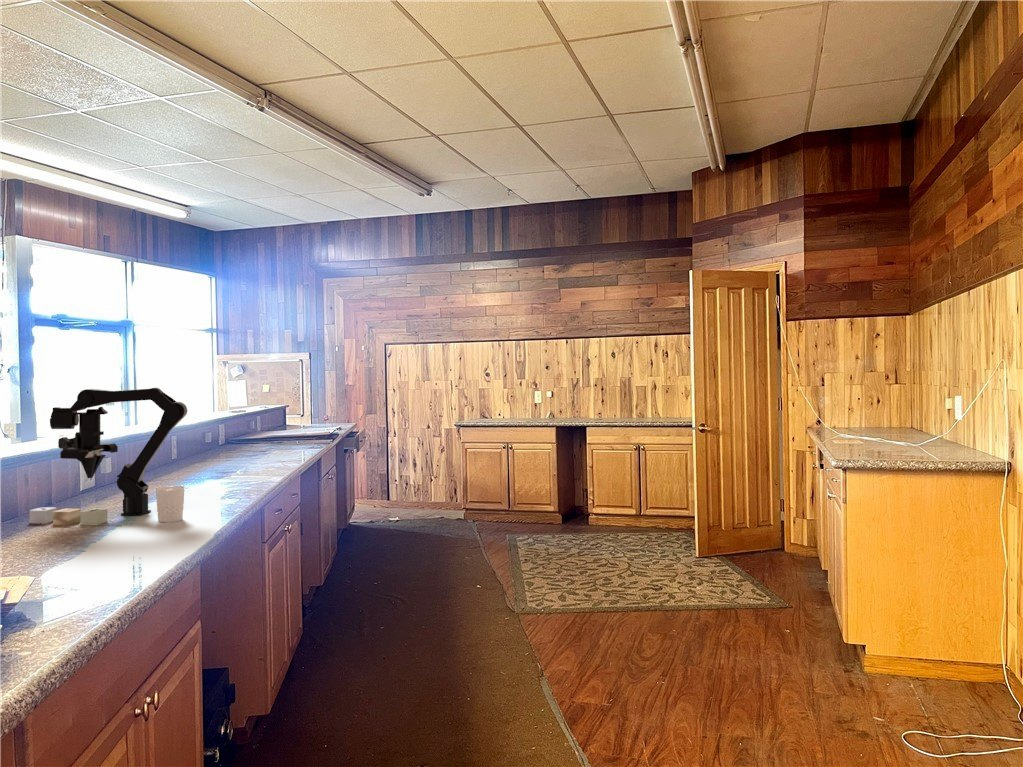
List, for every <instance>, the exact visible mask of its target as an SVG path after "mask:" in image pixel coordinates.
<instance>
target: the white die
mask: <svg viewBox="0 0 1023 767" xmlns="http://www.w3.org/2000/svg"><path fill="white" fill-rule="evenodd" d="M57 510H58V507H56V506H55V507H54V506H53V507H52V506H51V507H49V506H47V507H46V506H42V507H41V506H40V507H37V508H33V509H29V524H40V523H41V524H42V525H43V524H44V525H45V524H49V523H51V522H52V521H53V512H54V511H57ZM52 523H53V522H52Z"/></svg>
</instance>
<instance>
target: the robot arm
mask: <svg viewBox="0 0 1023 767" xmlns="http://www.w3.org/2000/svg"><path fill="white" fill-rule="evenodd" d="M136 401H137V402H138V401H139V402H140V401H152V402H153V403H154V404H155V405H156V406H158V408H159V409H160V410H162V411H163V414H162V416H161V419H160V420H159V421H160V422H159V424H158V427H156V429H155V431H154V432H153V434H152V435H151V436H150V438H149V440H148V441H147V442H146V444H145V446H144V447H143V448H142V450H141V452H140V453H139V454H138V456H137V457H136V459H135V460H134V462H133V463H131V464H130V463H129V462H128V463H127V464H125V465H124V466H123V467H122V470H121V472H120V473H119V474H118V475H116V477H117V480H116V485H117V488H118V489H119V490H120V491H122V493H123V499H122V512H121V513H120V516H142V515H145V514H148V513H151V512H152V510H151V509H149V493H147V491H148V489H149V485H148V484H147V483H146V482H145V481H143V478H144V476H145V473H146V470H147V467H148V465H149V463H151V461H152V459H153V458H154V456H155V455H156V453H157V452H158V450H159V449H160V448H161V446H162V444H163V443H164V442H165V440H166V438H167V437H168V435H170V433H171V431H172V430H173V429H174V428H175V427H176V426H177V425H178V424H179V423H180V422H181V421H182V420H183V419H184V418H185V417H186V415H187V414H188V407H187V405H186V404H185V403H183V402H181V401H177V400H175V399H174V398H172V397H171V396H169V395H168V394H166V393H165V392H164V391H162V389H161V388H159V387H151V388H141V389H126V390H110V389H109V390H108V389H98V388H89V389H83V390H81V391H80V392H79V393H78V395H77V397H76V401H75V402H74V403H73V405H71V407H59V406H58V407H57V406H55V407H53V408H52V412H51V414H50V418H49V425H50V428H51V429H52V430H74V429H75V427H77V426H79V427H78V428H79V430H78V431H77V432H75V434H74V437H72V438H68V437H67V436H65V437H63V436H62V437H61V438H59V439H58V448H59V449H61V451H60V452H59V455H60V456H59V457H60V459H63V460H64V459H66V460H68V459H69V460H71V459H72V460H77V461H79V462H80V463H81V465H82V468H83V470H84V472H85V474H86V477H87V479H93V477H94V476H95V474H96V472H97V470H98V468H99V466H100V465H101V463H102V461H103V460H104V458H106V457H107V455H106V454H102V453H103V452H110V453H118V445H117V444H116V443H109V442H107V443H106V442H102V443H101V436H102V435H103V436H104V431H101V415H106V414H108V411H107V410H106V409H104V407H103V406H104V405H107V404H112V403H123V402H136ZM102 405H103V406H102ZM97 406H98V408H93V407H97ZM99 406H100V407H99ZM85 409H86V410H85ZM83 410H85V411H86V412H85V411H83ZM80 411H83V412H80Z"/></svg>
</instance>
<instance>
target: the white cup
mask: <svg viewBox="0 0 1023 767" xmlns="http://www.w3.org/2000/svg"><path fill="white" fill-rule="evenodd" d="M155 492H156V493H155V496H156V510H157V521H158V522H160V523H174V522H180V521H182V520H183V515H184V514H183V513H184V512H183V511H184V502H185V486H182V485H168V486H166V485H164V486H159V487H157V488H156V489H155Z"/></svg>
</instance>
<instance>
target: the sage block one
mask: <svg viewBox="0 0 1023 767" xmlns="http://www.w3.org/2000/svg"><path fill="white" fill-rule="evenodd" d="M104 523H108V508H89V509H86V510H83V511H82V510H81V522H80V525H81V526H98V525H102V524H104Z"/></svg>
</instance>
